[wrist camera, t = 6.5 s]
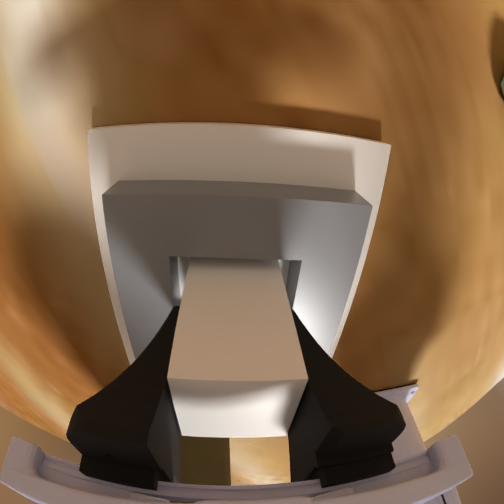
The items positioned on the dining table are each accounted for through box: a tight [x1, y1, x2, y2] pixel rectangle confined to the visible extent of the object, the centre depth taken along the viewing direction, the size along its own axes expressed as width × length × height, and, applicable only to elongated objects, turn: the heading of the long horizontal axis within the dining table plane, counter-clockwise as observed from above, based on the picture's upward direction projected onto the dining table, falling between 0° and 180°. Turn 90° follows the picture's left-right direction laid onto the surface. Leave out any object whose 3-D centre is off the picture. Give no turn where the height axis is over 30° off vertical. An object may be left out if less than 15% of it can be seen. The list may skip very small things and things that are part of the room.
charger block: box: [167, 257, 308, 438], centre depth 12 cm, size 4×4×7 cm
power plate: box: [87, 122, 391, 365], centre depth 15 cm, size 16×14×3 cm
